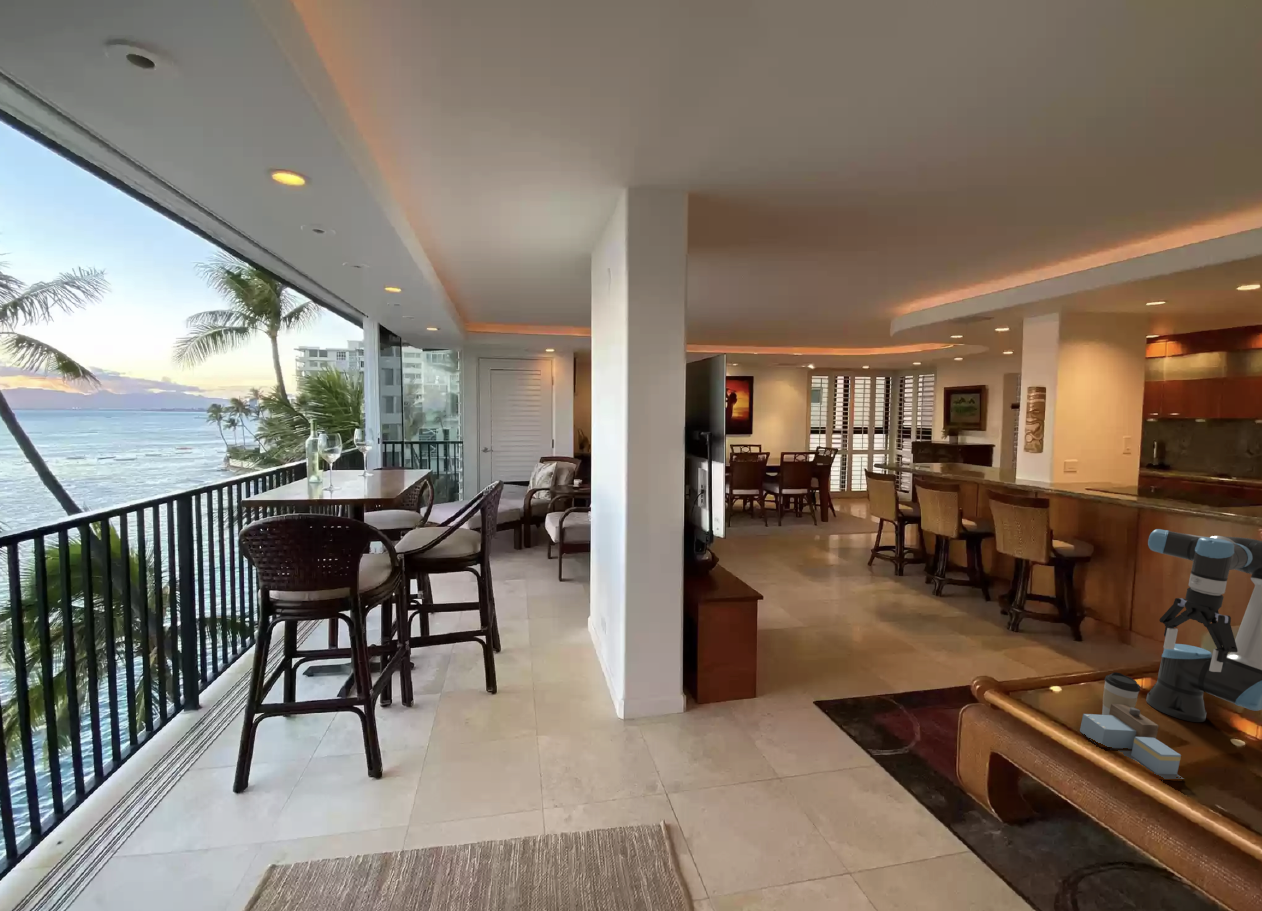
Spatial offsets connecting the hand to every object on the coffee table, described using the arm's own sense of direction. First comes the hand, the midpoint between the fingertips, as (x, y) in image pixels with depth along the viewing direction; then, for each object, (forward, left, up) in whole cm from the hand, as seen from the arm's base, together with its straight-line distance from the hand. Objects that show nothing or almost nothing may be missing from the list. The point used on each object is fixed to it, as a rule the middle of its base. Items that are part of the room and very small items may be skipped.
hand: (1190, 659), depth 168 cm
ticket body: (+13, -6, -31) cm, 34 cm away
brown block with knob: (+8, -6, -31) cm, 32 cm away
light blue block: (+11, +6, -30) cm, 33 cm away
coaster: (+14, +6, -31) cm, 34 cm away
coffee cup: (+1, -18, -31) cm, 36 cm away
